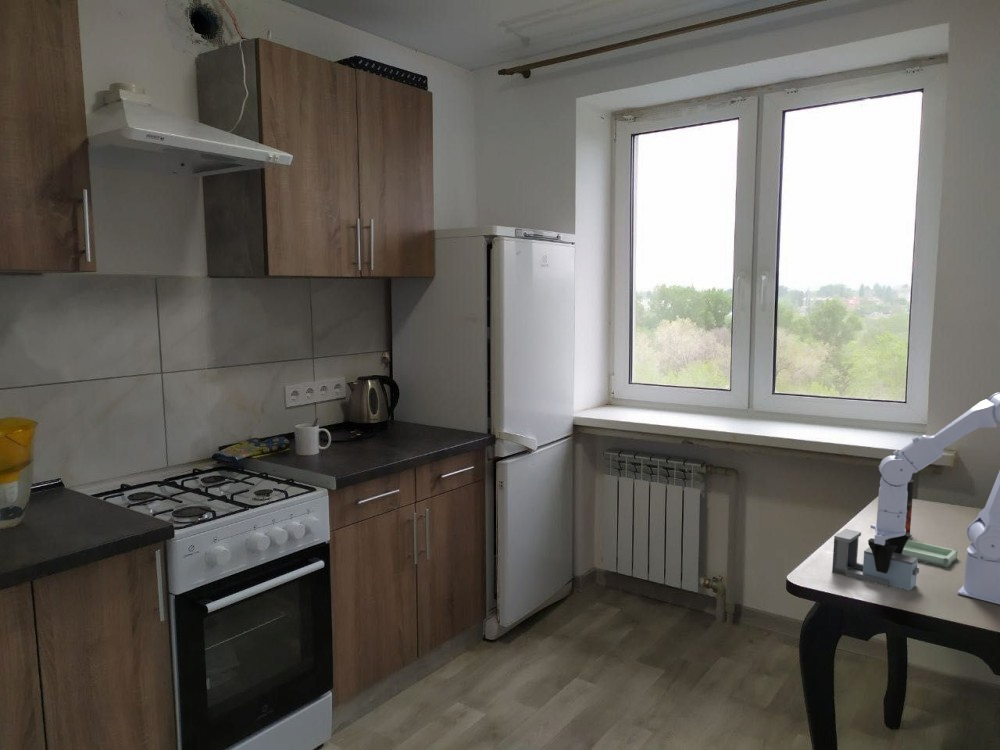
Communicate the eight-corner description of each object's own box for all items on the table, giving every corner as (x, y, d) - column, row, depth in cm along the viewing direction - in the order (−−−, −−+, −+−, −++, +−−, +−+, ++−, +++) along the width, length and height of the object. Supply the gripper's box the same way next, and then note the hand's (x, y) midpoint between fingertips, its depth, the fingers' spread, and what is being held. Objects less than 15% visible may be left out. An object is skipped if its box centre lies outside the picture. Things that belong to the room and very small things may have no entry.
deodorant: (897, 537, 193) (901, 483, 191) (879, 530, 199) (883, 477, 197) (915, 535, 195) (919, 481, 193) (897, 528, 200) (901, 475, 199)
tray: (956, 558, 179) (957, 550, 178) (947, 567, 173) (947, 559, 172) (892, 543, 189) (892, 536, 189) (881, 551, 183) (881, 544, 183)
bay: (897, 578, 166) (900, 541, 165) (887, 586, 161) (890, 548, 160) (843, 563, 175) (845, 528, 174) (832, 572, 170) (834, 535, 169)
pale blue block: (918, 586, 162) (920, 558, 161) (913, 591, 159) (915, 563, 158) (868, 573, 169) (870, 546, 169) (862, 578, 167) (864, 551, 166)
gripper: (883, 499, 171) (879, 554, 172) (861, 512, 160) (857, 571, 162) (916, 505, 166) (912, 562, 167) (896, 519, 155) (891, 580, 157)
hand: (887, 567), depth 164 cm, fingers open, 7 cm apart
